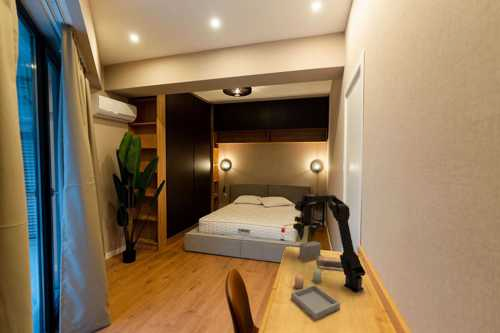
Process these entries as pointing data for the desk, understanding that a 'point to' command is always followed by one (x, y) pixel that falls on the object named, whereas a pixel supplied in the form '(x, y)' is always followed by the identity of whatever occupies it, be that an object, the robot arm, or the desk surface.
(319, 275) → the sage part
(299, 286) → the terracotta part
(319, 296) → the tray
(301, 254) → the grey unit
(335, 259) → the packaged product
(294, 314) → the desk surface
